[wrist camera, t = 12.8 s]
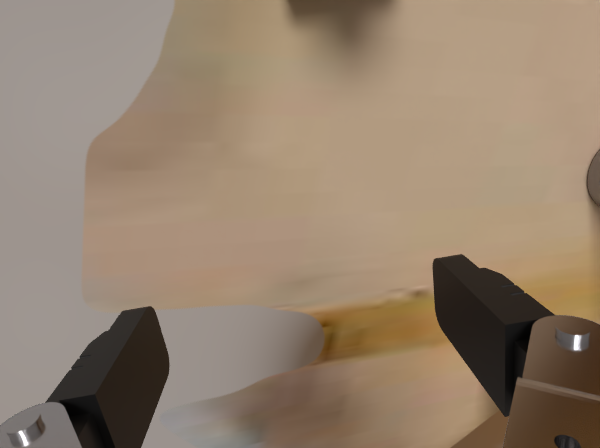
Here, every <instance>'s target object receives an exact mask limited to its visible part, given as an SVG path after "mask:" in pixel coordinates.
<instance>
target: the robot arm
mask: <svg viewBox="0 0 600 448" xmlns="http://www.w3.org/2000/svg"><path fill="white" fill-rule="evenodd" d="M588 189H589V193H590V195H591V197H592V199H593V200H594V201H595V202H596V203H597V204H598V205H599V206H600V150H599V151H598V152H597V154H596V156H595V157H594V159H593V161H592V163H591V166H590V169H589V173H588ZM433 282H434V300H435V312H436V316H437V320H438V323H439V325H440V327H441V329H442V331H443V332H444V334H445V335H446V336H447V338H448V339H449V340H450V342H451V343H452V345H453V346H454V347H455V349H456V350H457V351H458V353H459V354H460V356H461V357H462V358H463V360H464V361H465V363H466V364H467V365H468V367H469V368H470V369H471V371H472V372H473V374H474V375H475V376H476V378H477V379H478V380H479V382H480V383H481V385H482V386H483V387H484V389H485V390H486V391H487V393H488V394H489V396H490V397H491V398H492V400H493V401H494V402H495V404H496V405H497V407H498V408H499V409H500V411H501V412H502V413H503V415H504V416H505V417H506V416H509V420H508V425H507V430H506V434H505V439H504V444H503V448H600V325H599V324H597V323H595V322H593V321H590V320H587V319H583V318H580V317H574V316H566V315H554V314H553V313H552V312H550V311H549V310H548V309H546V308H545V307H544V306H543V305H541V304H540V303H539V302H537V301H536V300H535V299H533V298H532V297H531V296H530V295H528V294H527V293H524V291H523V290H522V289H521V288H519V287H518V286H517V285H514V283H513V282H511V281H510V280H509V279H508V278H506V277H505V276H504V275H502V274H500V273H497V272H495V271H492V270H489V269H487V268H478V267H477V266H476V265H475V264H474V263H472V262H471V261H470V260H469V259H468V258H466V257H465V256H464V255H462V254H459V255H454V256H448V257H442V258H436V259H434V261H433ZM71 368H72V370H70V371H69V372H68V373H67V374H66V376H65V377H64V378H63V380H62V381H61V382H60V384H59V385H58V386H57V388H56V389H55V390H54V392H53V393H52V394H51V396H50V397H49V398H48V400H47V401H46V402H45V403H42V404H38V405H35V406H32V407H30V408H27V409H25V410H23V411H21V412H19V413H17V414H15V415H14V416H12V417H11V418H9V419H8V420H6V421H5V422H4V423H2V424H1V425H0V448H141V446H142V444H143V441H144V438H145V436H146V433H147V430H148V428H149V425H150V423H151V420H152V417H153V415H154V412H155V409H156V407H157V404H158V401H159V399H160V396H161V393H162V391H163V388H164V385H165V383H166V380H167V377H168V374H169V356H168V351H167V348H166V345H165V342H164V338H163V335H162V332H161V328H160V325H159V322H158V318H157V315H156V312H155V310H154V309H153V308H152V307H151V306H149V307H143V308H137V309H131V310H125V311H122V312H121V314H120V315H119V316H118V318H117V319H116V321H115V322H114V324H113V325H112V326H111V328H110V330H108V331H105V332H104V333H102V334H101V335H100V336H99V337H97V338H96V339H95V340H93V341H92V342H91V343H90V344H89V345H88V346H87V348H86V349H85V350H84V351H83V353H82V354H81V356H80V359H78V360H77V361H76V362H75V364H74V365H73V366H72V367H71Z"/></svg>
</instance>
